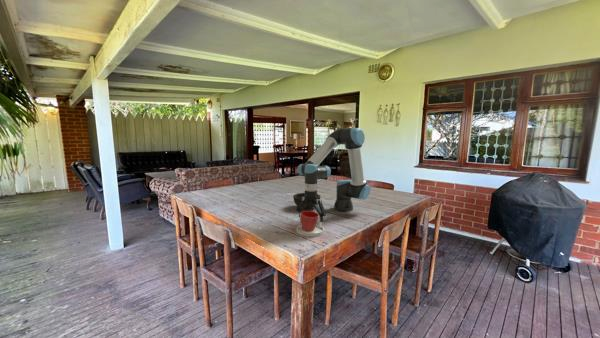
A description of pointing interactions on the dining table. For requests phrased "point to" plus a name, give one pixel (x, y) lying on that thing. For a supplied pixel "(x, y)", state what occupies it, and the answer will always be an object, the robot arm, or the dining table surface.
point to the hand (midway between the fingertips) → (310, 224)
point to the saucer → (315, 232)
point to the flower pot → (308, 220)
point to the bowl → (297, 200)
